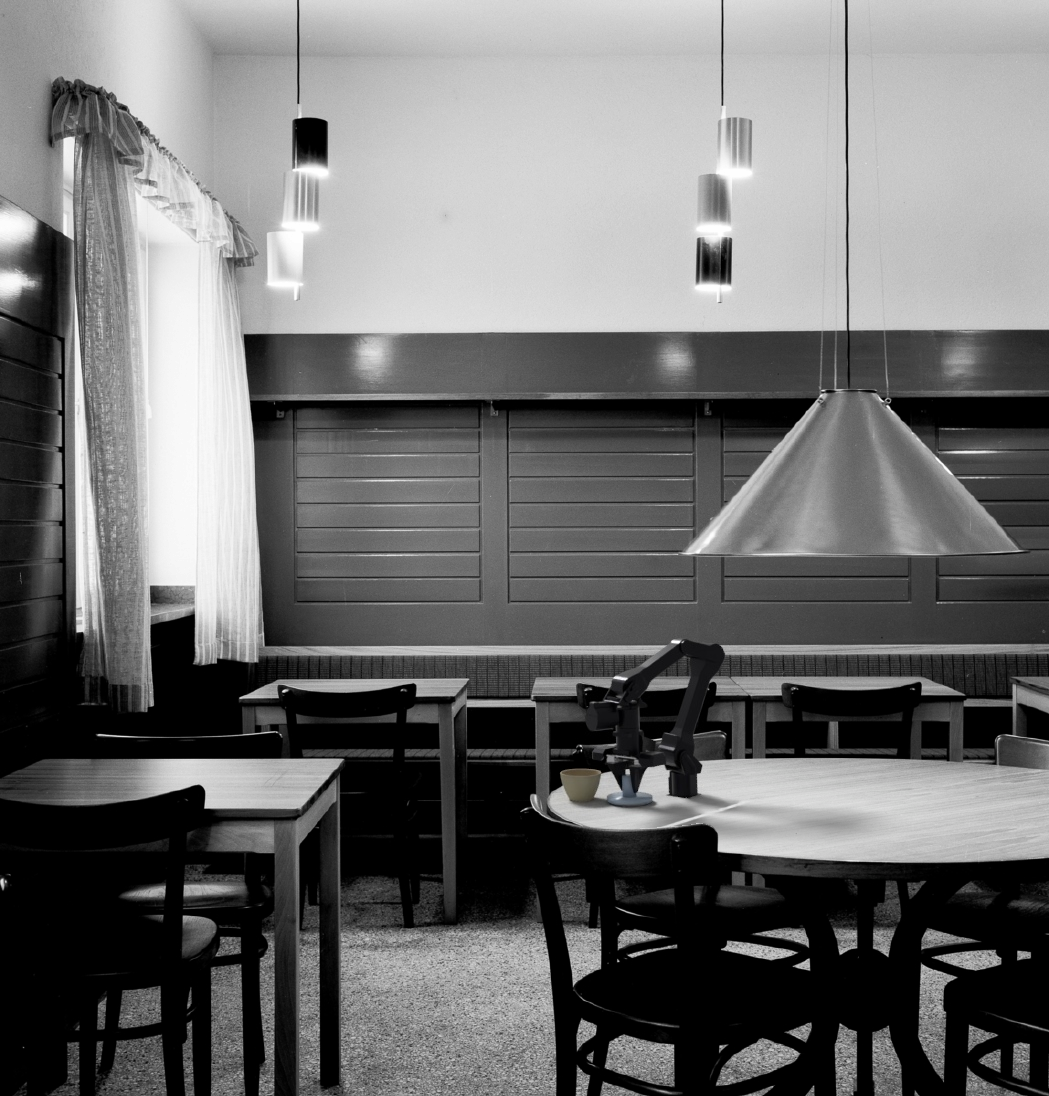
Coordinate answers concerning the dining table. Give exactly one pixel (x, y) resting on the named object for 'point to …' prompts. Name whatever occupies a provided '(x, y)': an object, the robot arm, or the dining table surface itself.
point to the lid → (629, 794)
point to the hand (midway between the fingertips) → (629, 791)
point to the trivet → (630, 805)
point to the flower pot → (580, 783)
